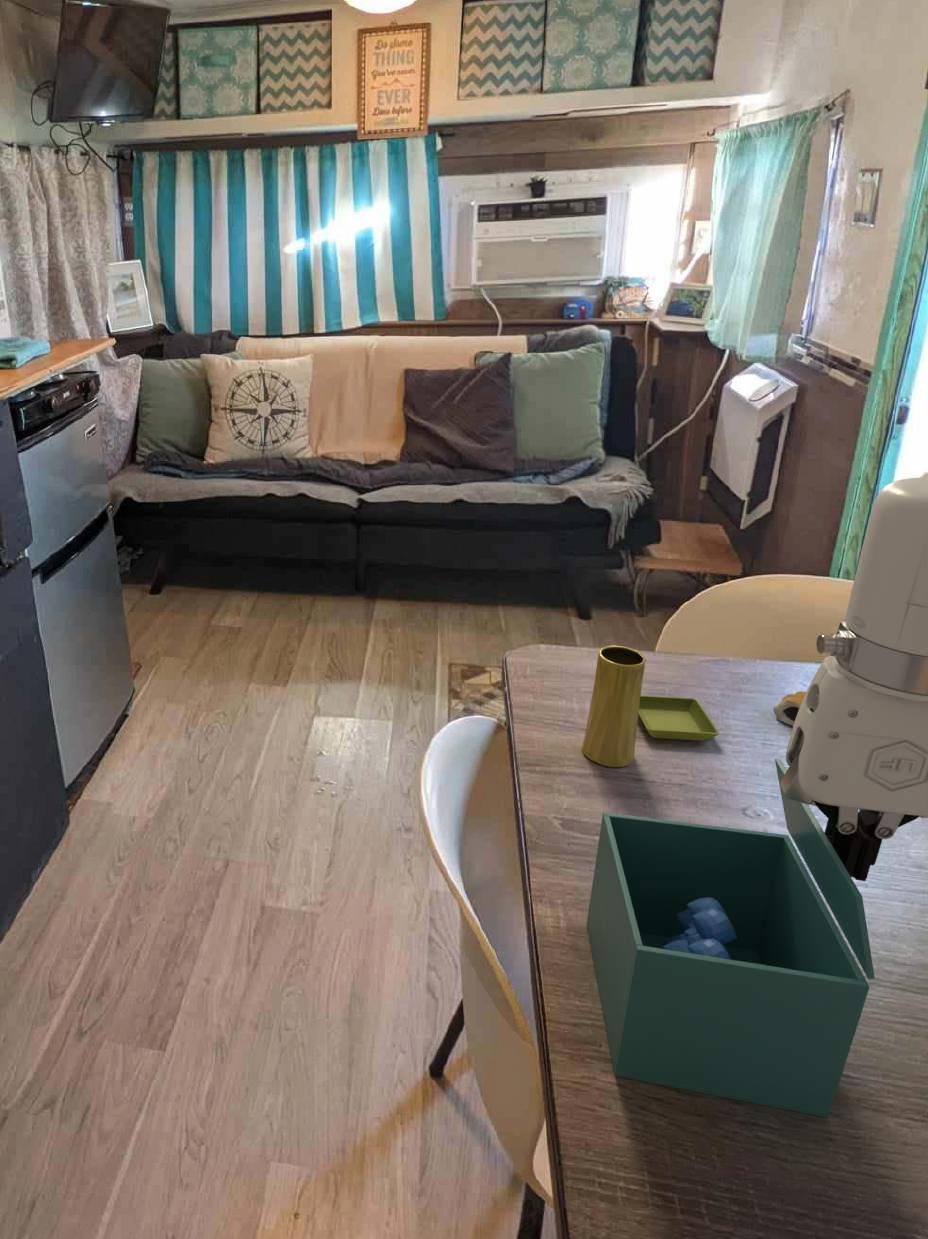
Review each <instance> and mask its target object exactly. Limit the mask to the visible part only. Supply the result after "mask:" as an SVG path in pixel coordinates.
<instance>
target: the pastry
mask: <svg viewBox="0 0 928 1239" xmlns="http://www.w3.org/2000/svg"><path fill="white" fill-rule="evenodd" d="M806 692H807V691H796V693H794V694H793V693H790V694H789V693H788V694H786V695H785V696H784V697H782V699H781V701H780V702H778V704H777V705H774V706H773V710H772V711H773V713H774V715H775V718H776V719H777V720H778V721H779V722H782V723H784V724H786V725H788V726H791V727H793V726H794V722H795V719H796V717H797V714H798V711H799V708H800V706H801V703H802V701H803V698H804V696H805V694H806Z"/></svg>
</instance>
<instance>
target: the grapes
mask: <svg viewBox="0 0 928 1239" xmlns="http://www.w3.org/2000/svg"><path fill="white" fill-rule="evenodd" d="M687 906H688V909H686V910H684V911H681V912H679V913H677V914H676V916H677V919H678V922H679V924H680V927H681V929H682V931H683V932H684V933H683V934H676V935H673V936H671V937H669V938H667V939H665V940H664V943H665V946H663V949H666V950H672V951H678V952H684V953H691V954H697V955H703V956H710V957H716V958H722V959H728V960H731V959H730V956H729V954H728V951H727V950H726V947H725V945H724V944H726V943H728V942H730V941H732V940H734V939H736V938H737V936H736V933H735V931H734V928H733V926H732V923H731V922H730V920H729V919H728V917H727V915H726V913H725V910H724V909H723V908H722V906H721V905H720V903H719V902H718V901H717V900H715V899H713V898H711V897H709V898H699V899H697V900H695V901H692V902H690V903H689V904H687Z"/></svg>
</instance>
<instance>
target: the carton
mask: <svg viewBox="0 0 928 1239" xmlns="http://www.w3.org/2000/svg"><path fill="white" fill-rule="evenodd" d="M598 837H599V838H598V843H597V844H598V845H597V852H596V857H595V865H594V870H593V871H594V872H593V878H592V886H591V891H590V898H589V906H588V912H587V919H586V929H587V934H588V940H589V946H590V950H591V956H592V962H593V967H594V972H595V978H596V983H597V988H598V994H599V998H600V1005H601V1009H602V1014H603V1015H602V1016H603V1021H604V1026H605V1032H606V1036H607V1042H608V1047H609V1053H610V1058H611V1063H612V1069H613V1073H614V1074H613V1075H614V1076H615V1077H618V1078H623V1079H629V1080H634V1081H638V1082H644V1083H647V1084H654V1085H659V1086H664V1087H669V1088H674V1089H680V1090H684V1091H690V1092H695V1093H698V1094H699V1093H700V1094H703V1095H710V1096H715V1097H720V1098H724V1099H730V1100H735V1101H741V1102H744V1103H745V1102H746V1103H750V1104H756V1105H761V1106H765V1107H770V1108H775V1109H781V1110H786V1111H791V1112H797V1113H802V1114H805V1115H806V1114H807V1115H810V1116H815V1117H822V1118H826V1119H828V1118H829V1117H830V1113H831V1111H832V1107H833V1104H834V1101H835V1098H836V1095H837V1092H838V1089H839V1086H840V1082H841V1079H842V1076H843V1073H844V1069H845V1067H846V1063H847V1061H848V1057H849V1054H850V1050H851V1047H852V1045H853V1041H854V1037H855V1035H856V1031H857V1029H858V1026H859V1022H860V1018H861V1016H862V1013H863V1009H864V1007H865V1004H866V1003H865V1002H866V1000H867V996H868V993H869V990H870V985H869V983H868V981H867V979H866V977H865V974H864V973H863V972H862V969H861V968H860V966H859V965H858V962H857V961H856V959H855V957H854V955H853V953H852V951H851V949H850V948H849V946H848V944H847V942H846V940H845V938H844V936H843V935H842V932H841V930H840V929H839V927H838V925H837V924H836V921H835V919H834V918H833V916H832V914H831V912H830V909H829V908H828V907H827V904H826V902H825V901H824V899H823V898H822V895H821V893H820V891H819V889H818V888H817V886H816V884H815V881H813V878H812V877H811V875H810V873H809V870H808V869H807V867H806V866H805V864H804V862H803V860H802V858H801V855H800V854H799V851H797V849H796V847H795V845H794V843H793V840H792V838H790V836H789V835H788V834H783V833H775V832H774V833H773V832H768V831H767V832H766V831H760V830H758V831H757V830H751V829H743V828H742V829H741V828H735V827H727V826H726V827H725V826H718V825H710V824H702V823H693V822H684V821H679V820H678V821H677V820H668V819H660V818H653V817H643V816H637V815H636V816H635V815H628V814H621V813H612V812H602V818H601V823H600V830H599V836H598ZM709 897H711V898H713V899H715V900H717V901H718V902H719V903H720V905H721V906H722V908H723V909H724V910H725V913H726V915H727V917H728V919H729V920H730V922H731V923H732V926H733V928H734V931H735V933H736V936H737V938H736V939H734V940H732V941H730V942H728V943H726V944H724V945H725V947H726V950H727V951H728V954H729V956H730V959H731V960H728V959H722V958H716V957H710V956H703V955H697V954H691V953H684V952H678V951H672V950H666V949H663V946H665V943H664V940H665V939H667V938H669V937H671V936H673V935H676V934H683V933H684V932H683V931H682V929H681V927H680V924H679V922H678V919H677V916H676V914H677V913H679V912H681V911H684V910H686V909H688V906H687V904H689V903H690V902H692V901H695V900H697V899H699V898H709Z"/></svg>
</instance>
